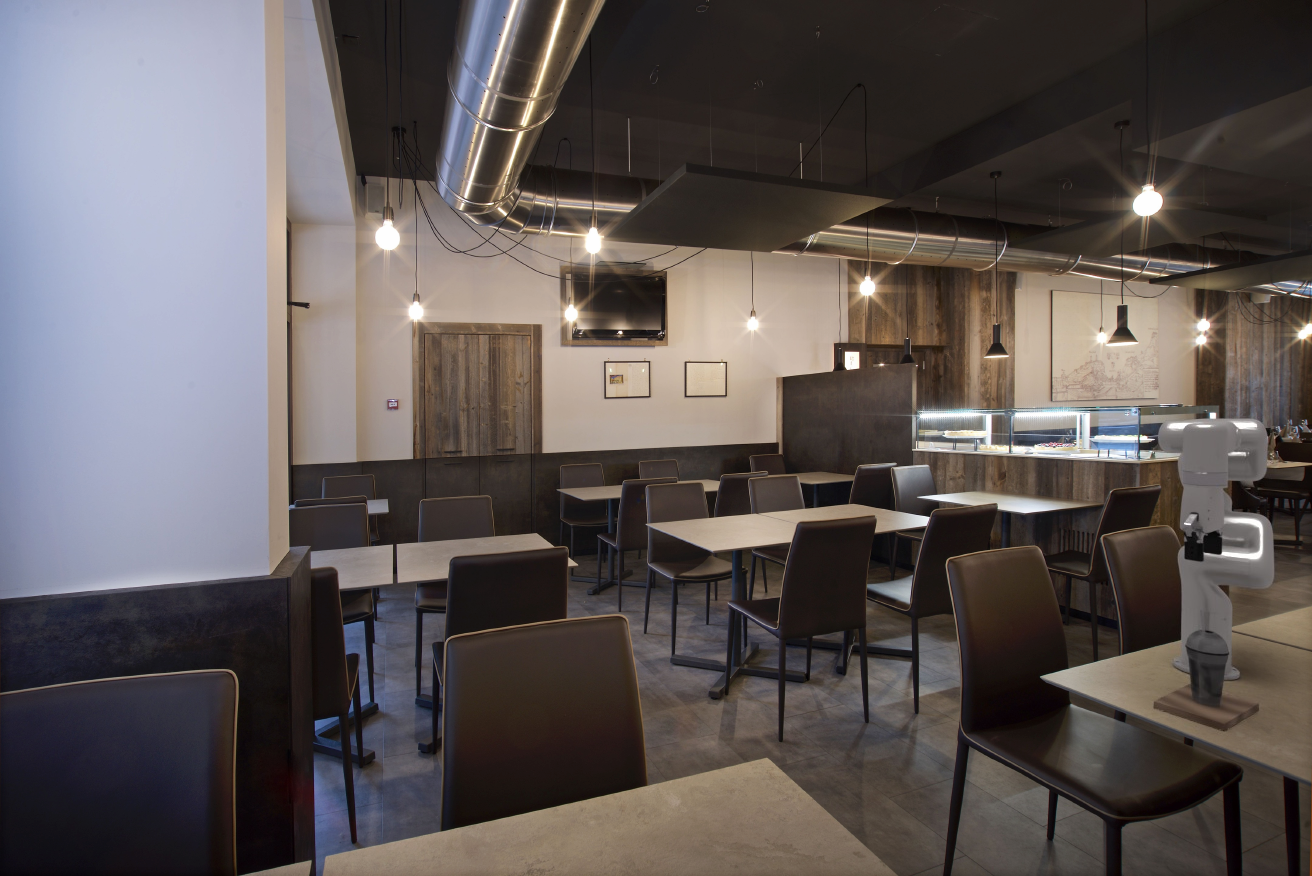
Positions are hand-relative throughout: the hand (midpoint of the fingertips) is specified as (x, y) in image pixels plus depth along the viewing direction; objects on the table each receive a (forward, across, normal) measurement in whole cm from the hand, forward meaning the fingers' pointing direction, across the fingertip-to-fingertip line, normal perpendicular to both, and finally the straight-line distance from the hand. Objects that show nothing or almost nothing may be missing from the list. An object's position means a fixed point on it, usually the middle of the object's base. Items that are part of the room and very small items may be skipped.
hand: (1203, 557), depth 139 cm
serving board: (+32, +4, +2) cm, 33 cm away
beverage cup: (+31, +4, +2) cm, 31 cm away
